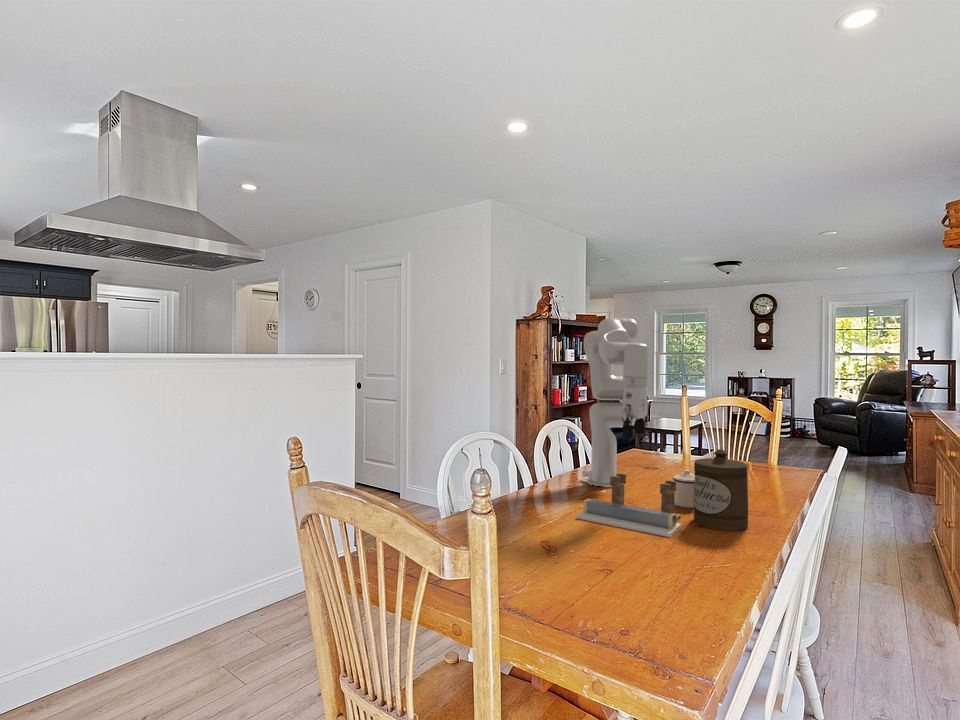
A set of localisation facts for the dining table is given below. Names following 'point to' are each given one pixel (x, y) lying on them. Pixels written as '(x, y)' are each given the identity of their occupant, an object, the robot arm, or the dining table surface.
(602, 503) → the rail
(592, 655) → the dining table surface
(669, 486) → the rack
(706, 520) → the wooden container
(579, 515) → the mat
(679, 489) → the teacup with lid
